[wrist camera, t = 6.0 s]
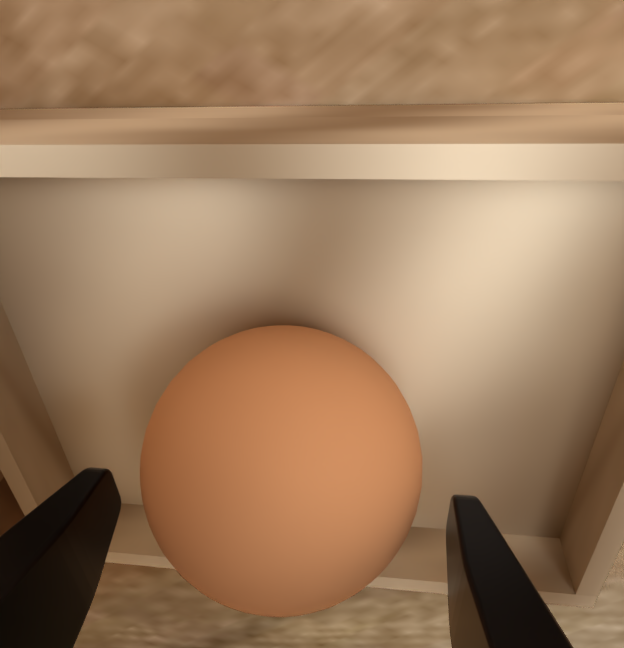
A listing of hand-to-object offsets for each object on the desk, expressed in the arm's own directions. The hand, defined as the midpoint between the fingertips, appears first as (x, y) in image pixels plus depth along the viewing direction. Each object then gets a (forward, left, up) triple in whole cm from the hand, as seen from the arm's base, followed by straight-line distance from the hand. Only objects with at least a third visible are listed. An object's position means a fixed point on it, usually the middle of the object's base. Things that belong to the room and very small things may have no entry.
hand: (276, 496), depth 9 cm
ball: (0, 0, -3) cm, 3 cm away
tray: (0, 0, -4) cm, 4 cm away
